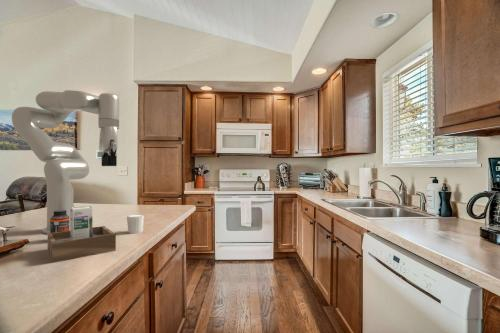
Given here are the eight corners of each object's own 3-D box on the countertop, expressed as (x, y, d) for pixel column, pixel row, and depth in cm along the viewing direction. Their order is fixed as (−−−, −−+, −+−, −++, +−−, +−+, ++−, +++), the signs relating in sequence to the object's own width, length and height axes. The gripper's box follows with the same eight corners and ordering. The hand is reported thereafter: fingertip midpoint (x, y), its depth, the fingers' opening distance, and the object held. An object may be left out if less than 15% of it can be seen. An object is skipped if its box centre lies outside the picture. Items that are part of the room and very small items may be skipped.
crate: (47, 249, 88) (47, 233, 88) (103, 240, 100) (104, 225, 100) (52, 262, 76) (52, 243, 76) (115, 250, 88) (115, 234, 88)
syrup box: (72, 253, 84) (72, 208, 84) (70, 249, 89) (70, 206, 89) (92, 250, 88) (92, 206, 88) (89, 246, 92) (89, 205, 92)
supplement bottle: (59, 242, 97) (59, 211, 97) (45, 241, 98) (45, 211, 98) (73, 238, 103) (73, 209, 103) (60, 237, 104) (60, 208, 104)
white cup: (123, 233, 111) (123, 216, 111) (135, 229, 117) (135, 213, 117) (135, 234, 109) (135, 217, 109) (147, 230, 115) (147, 214, 115)
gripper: (94, 126, 112) (93, 166, 112) (103, 120, 99) (103, 166, 99) (113, 127, 117) (113, 166, 117) (125, 122, 104) (124, 166, 104)
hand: (108, 166), depth 108 cm, fingers open, 9 cm apart
